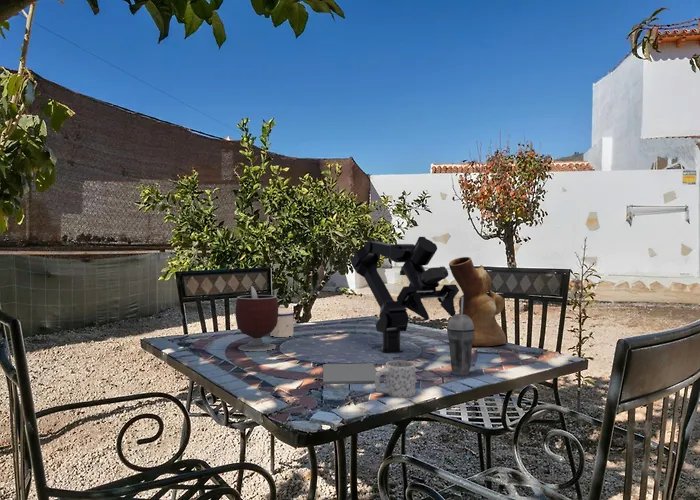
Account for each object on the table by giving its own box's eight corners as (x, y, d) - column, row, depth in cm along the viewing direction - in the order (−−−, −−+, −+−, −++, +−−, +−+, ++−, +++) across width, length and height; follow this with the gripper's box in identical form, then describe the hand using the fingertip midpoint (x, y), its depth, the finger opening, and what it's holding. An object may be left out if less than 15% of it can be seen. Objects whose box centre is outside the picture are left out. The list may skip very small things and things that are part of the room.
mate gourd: (283, 350, 157) (282, 288, 157) (239, 354, 151) (239, 290, 151) (271, 342, 171) (271, 285, 171) (231, 345, 166) (231, 286, 166)
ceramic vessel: (516, 345, 165) (515, 256, 165) (467, 352, 154) (467, 257, 154) (482, 338, 178) (482, 256, 178) (435, 343, 168) (435, 256, 168)
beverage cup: (441, 373, 127) (441, 297, 127) (454, 368, 133) (454, 295, 133) (467, 378, 122) (466, 298, 122) (479, 372, 128) (479, 296, 128)
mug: (404, 387, 115) (404, 359, 115) (421, 394, 109) (421, 365, 109) (367, 393, 110) (367, 364, 110) (383, 401, 104) (383, 370, 104)
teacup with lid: (275, 333, 189) (275, 303, 189) (297, 334, 187) (297, 304, 187) (262, 338, 178) (262, 307, 178) (285, 340, 175) (285, 307, 175)
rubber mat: (323, 366, 135) (323, 364, 135) (373, 365, 136) (373, 363, 136) (323, 384, 117) (323, 381, 117) (380, 383, 118) (380, 380, 118)
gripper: (402, 257, 135) (426, 301, 125) (454, 257, 143) (481, 297, 134) (387, 284, 142) (409, 327, 132) (438, 282, 150) (462, 322, 141)
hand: (441, 318), depth 134 cm, fingers open, 9 cm apart
